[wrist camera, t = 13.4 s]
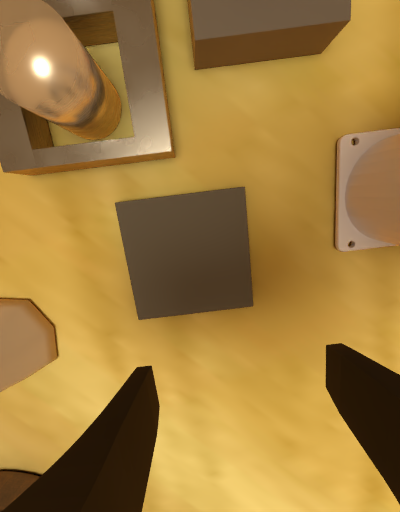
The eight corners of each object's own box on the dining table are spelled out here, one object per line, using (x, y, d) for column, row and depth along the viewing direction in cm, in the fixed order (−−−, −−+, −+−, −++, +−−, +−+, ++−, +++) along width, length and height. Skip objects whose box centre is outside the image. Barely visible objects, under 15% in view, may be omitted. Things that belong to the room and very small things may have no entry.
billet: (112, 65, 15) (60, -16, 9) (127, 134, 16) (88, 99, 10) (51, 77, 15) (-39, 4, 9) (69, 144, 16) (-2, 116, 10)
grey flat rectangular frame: (130, -168, 13) (115, -254, 10) (175, 157, 17) (171, 150, 14) (-58, -142, 13) (-117, -221, 10) (31, 175, 17) (3, 172, 14)
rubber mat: (243, 186, 17) (244, 186, 17) (251, 302, 19) (253, 306, 19) (117, 202, 17) (114, 202, 17) (140, 316, 19) (138, 319, 19)
